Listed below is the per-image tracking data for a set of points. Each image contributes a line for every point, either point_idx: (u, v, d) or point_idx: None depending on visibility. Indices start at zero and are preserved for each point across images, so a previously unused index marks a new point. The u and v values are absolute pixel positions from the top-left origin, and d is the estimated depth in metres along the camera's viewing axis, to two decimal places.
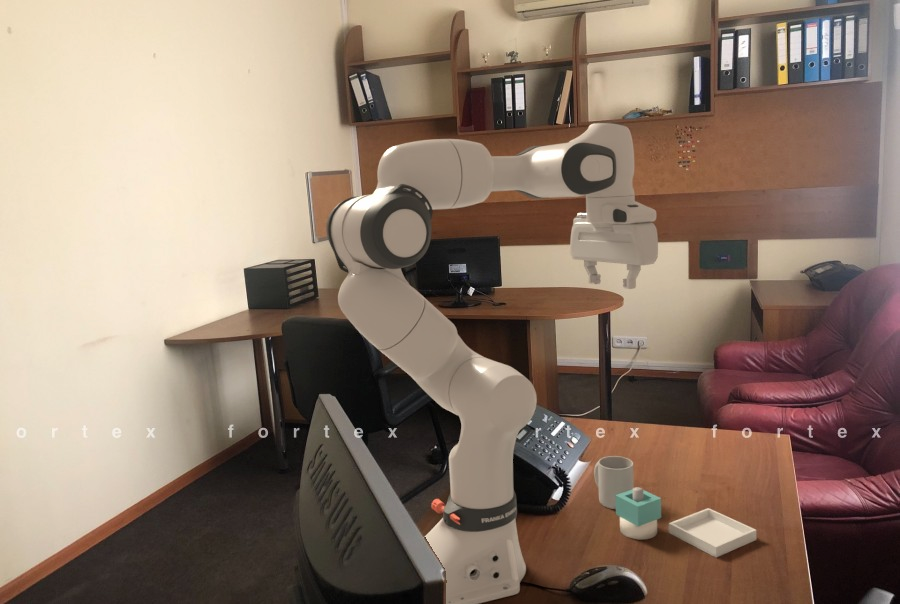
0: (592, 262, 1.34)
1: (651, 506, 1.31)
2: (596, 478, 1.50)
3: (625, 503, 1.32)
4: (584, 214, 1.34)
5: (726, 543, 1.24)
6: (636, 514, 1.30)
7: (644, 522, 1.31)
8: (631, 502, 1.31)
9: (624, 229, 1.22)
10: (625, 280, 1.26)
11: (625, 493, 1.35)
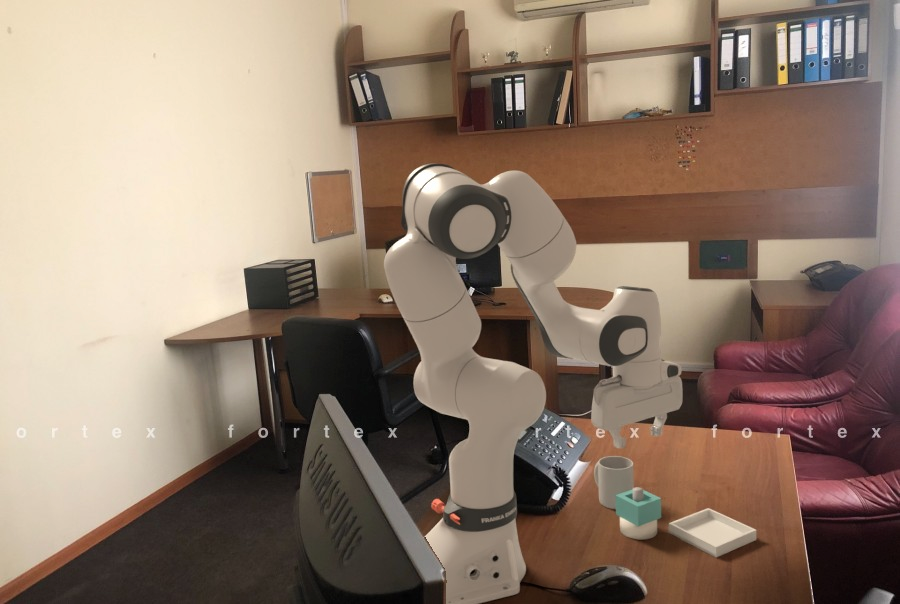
0: None
1: (651, 506, 1.31)
2: (596, 478, 1.50)
3: (625, 503, 1.32)
4: (610, 380, 1.26)
5: (726, 543, 1.24)
6: (636, 514, 1.30)
7: (644, 522, 1.31)
8: (631, 502, 1.31)
9: (670, 382, 1.31)
10: (659, 429, 1.33)
11: (625, 493, 1.35)
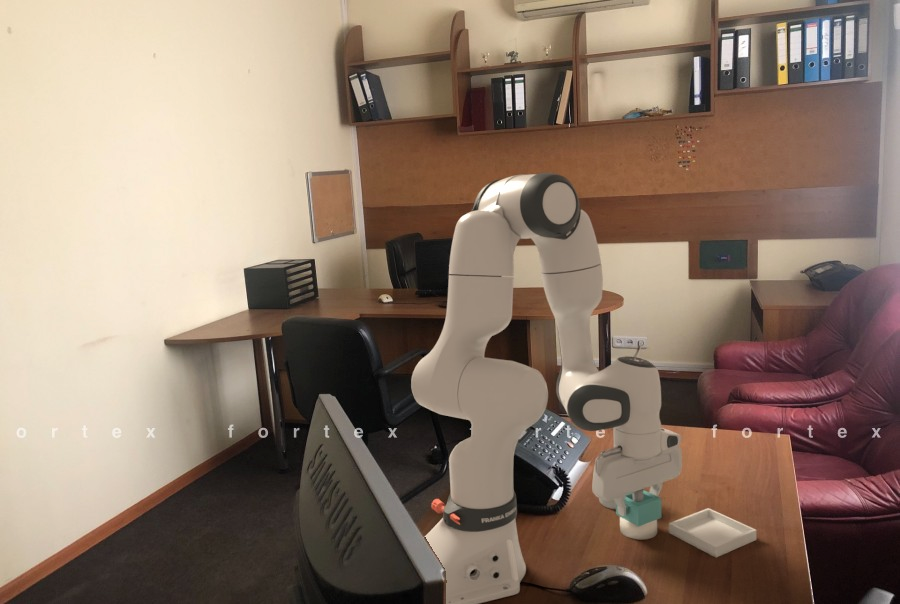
0: None
1: (651, 506, 1.31)
2: None
3: (625, 503, 1.32)
4: (611, 451, 1.28)
5: (726, 543, 1.24)
6: (636, 514, 1.30)
7: (644, 522, 1.31)
8: (631, 502, 1.31)
9: (670, 451, 1.33)
10: None
11: None
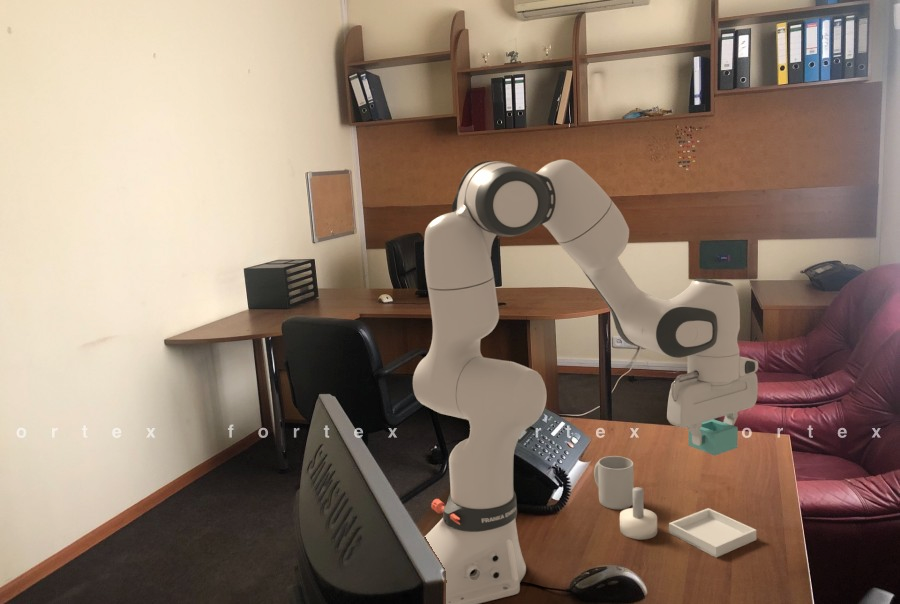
0: None
1: (728, 435, 1.25)
2: (596, 478, 1.50)
3: None
4: (688, 376, 1.22)
5: (726, 543, 1.24)
6: (713, 442, 1.24)
7: (721, 451, 1.25)
8: (707, 431, 1.25)
9: (747, 378, 1.27)
10: None
11: None
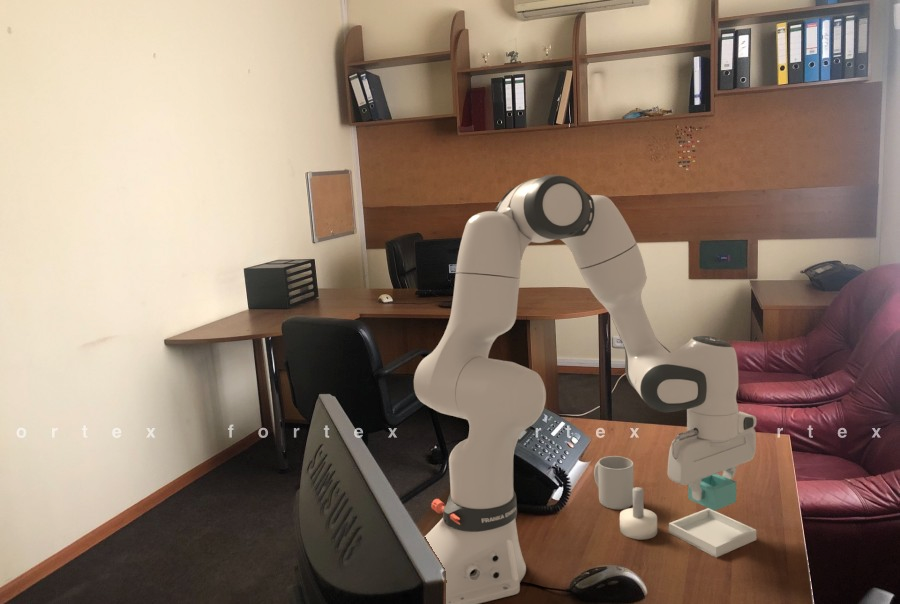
0: None
1: (727, 490, 1.27)
2: (596, 478, 1.50)
3: (700, 487, 1.28)
4: (688, 434, 1.24)
5: (726, 543, 1.24)
6: (712, 498, 1.26)
7: (720, 506, 1.27)
8: (706, 486, 1.27)
9: (745, 434, 1.29)
10: None
11: None
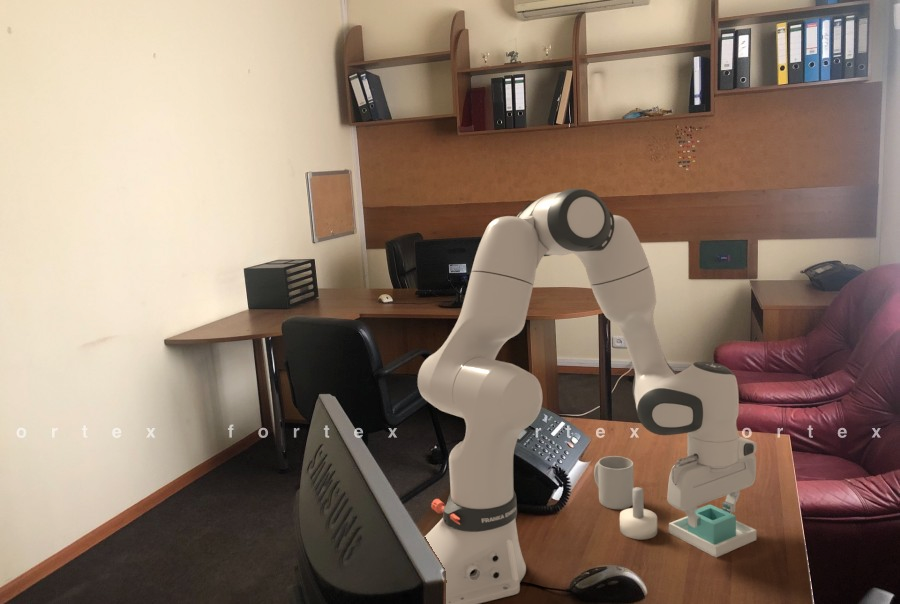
0: None
1: (726, 524, 1.28)
2: (596, 478, 1.50)
3: None
4: (688, 459, 1.24)
5: (726, 543, 1.24)
6: (712, 532, 1.27)
7: (719, 540, 1.27)
8: (706, 520, 1.28)
9: (745, 460, 1.29)
10: (732, 506, 1.31)
11: (697, 510, 1.32)
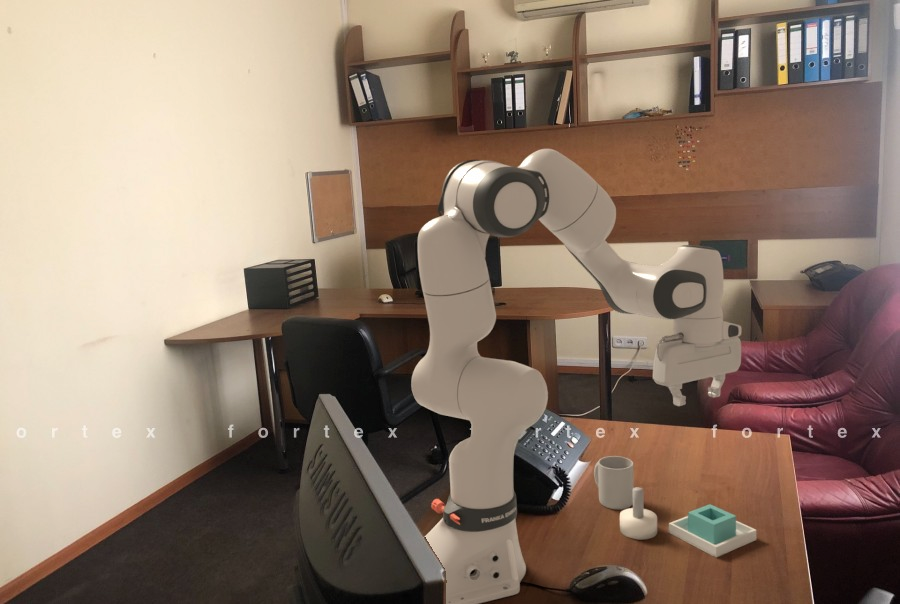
0: None
1: (726, 524, 1.28)
2: (596, 478, 1.50)
3: (699, 521, 1.29)
4: (673, 337, 1.27)
5: (726, 543, 1.24)
6: (712, 532, 1.27)
7: (719, 540, 1.27)
8: (706, 520, 1.28)
9: (730, 342, 1.32)
10: (717, 389, 1.34)
11: (697, 510, 1.32)
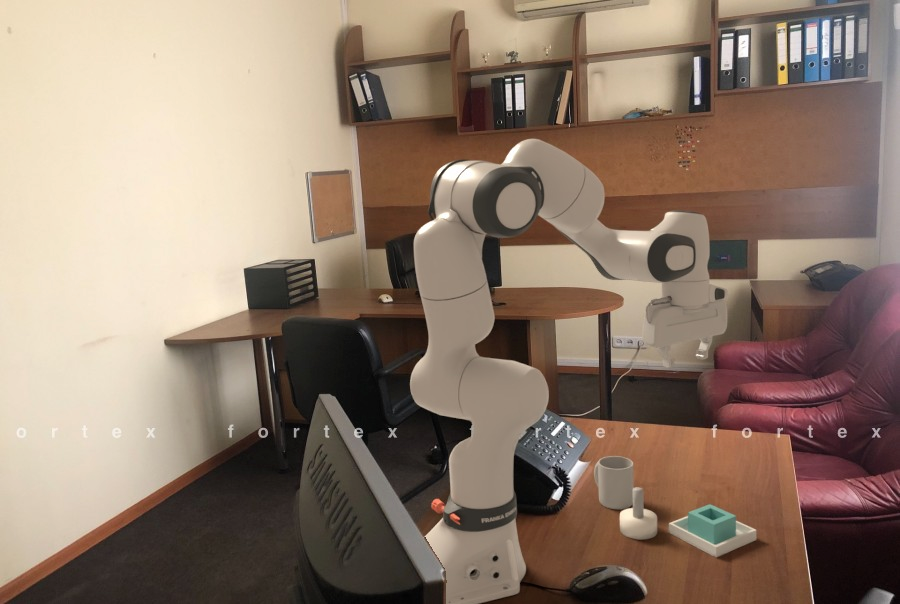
0: None
1: (726, 524, 1.28)
2: (596, 478, 1.50)
3: (699, 521, 1.29)
4: (661, 300, 1.31)
5: (726, 543, 1.24)
6: (712, 532, 1.27)
7: (719, 540, 1.27)
8: (706, 520, 1.28)
9: (717, 305, 1.36)
10: (705, 351, 1.38)
11: (697, 510, 1.32)
